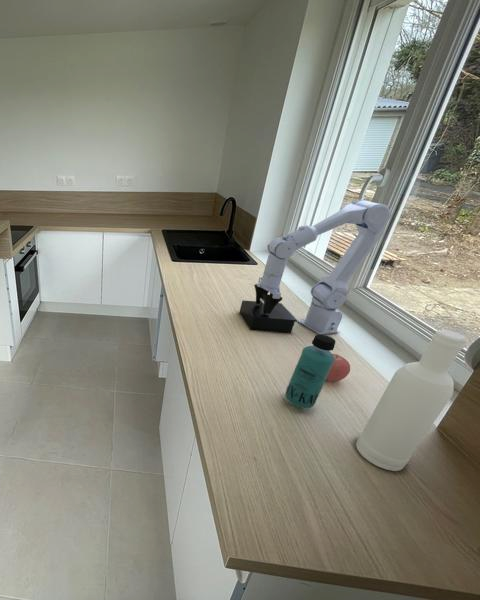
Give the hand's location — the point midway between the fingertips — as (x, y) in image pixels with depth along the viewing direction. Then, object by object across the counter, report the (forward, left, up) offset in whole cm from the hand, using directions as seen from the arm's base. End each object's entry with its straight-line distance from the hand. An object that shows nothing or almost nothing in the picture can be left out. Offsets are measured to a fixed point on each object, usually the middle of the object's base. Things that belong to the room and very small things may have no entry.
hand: (262, 308), depth 116 cm
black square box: (-1, -2, -6) cm, 6 cm away
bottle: (-55, +15, -6) cm, 57 cm away
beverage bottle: (-39, +20, -6) cm, 44 cm away
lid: (-1, -2, -1) cm, 2 cm away
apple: (-32, +3, -6) cm, 32 cm away
